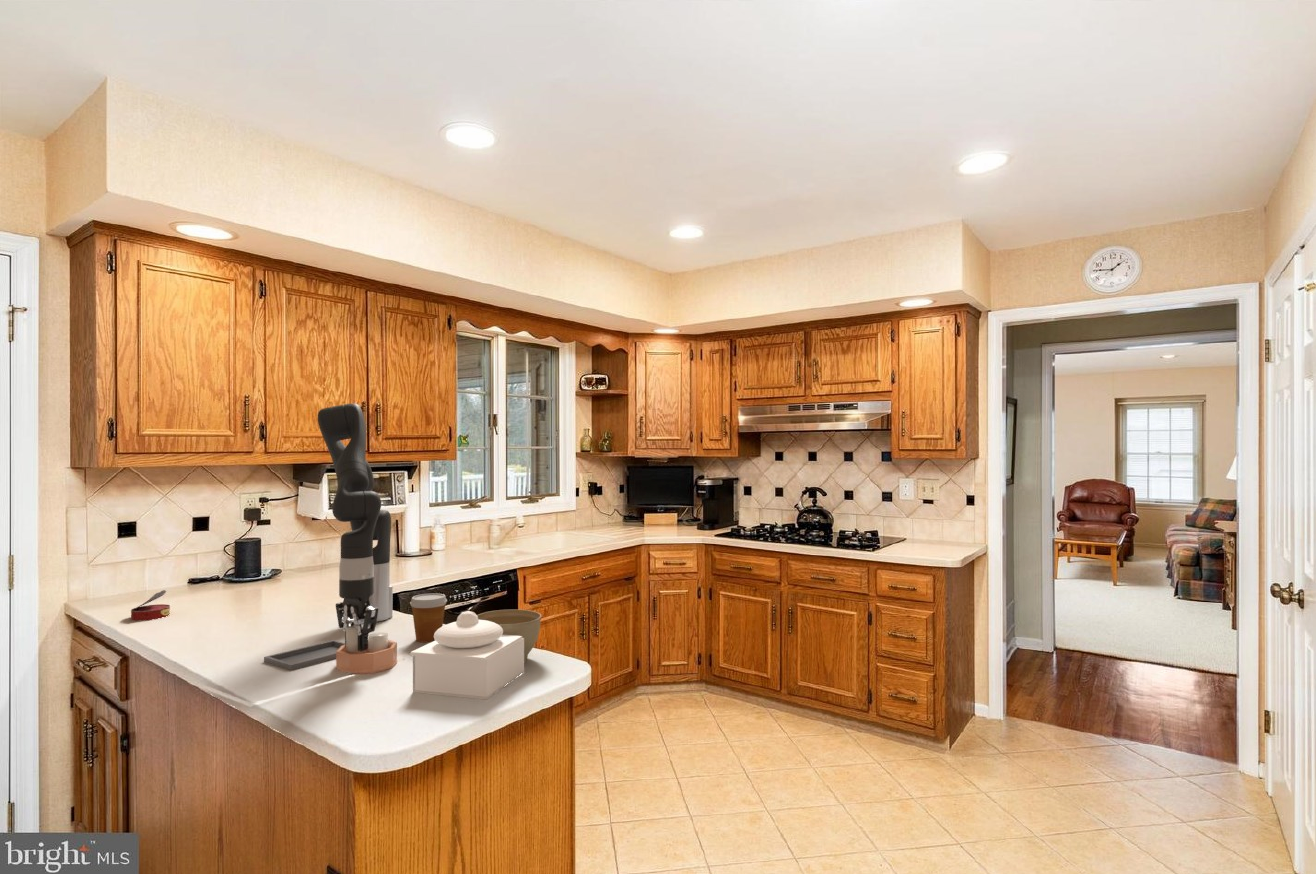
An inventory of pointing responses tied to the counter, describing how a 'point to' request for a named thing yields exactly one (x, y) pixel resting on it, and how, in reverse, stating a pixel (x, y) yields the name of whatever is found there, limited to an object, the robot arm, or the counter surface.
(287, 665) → the parts tray
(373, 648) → the white cylinder
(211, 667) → the counter surface
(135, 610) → the canned food
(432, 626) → the disposable coffee cup
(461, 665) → the white lidded box
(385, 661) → the terracotta bowl
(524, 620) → the planter bowl
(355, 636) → the grey cylinder
